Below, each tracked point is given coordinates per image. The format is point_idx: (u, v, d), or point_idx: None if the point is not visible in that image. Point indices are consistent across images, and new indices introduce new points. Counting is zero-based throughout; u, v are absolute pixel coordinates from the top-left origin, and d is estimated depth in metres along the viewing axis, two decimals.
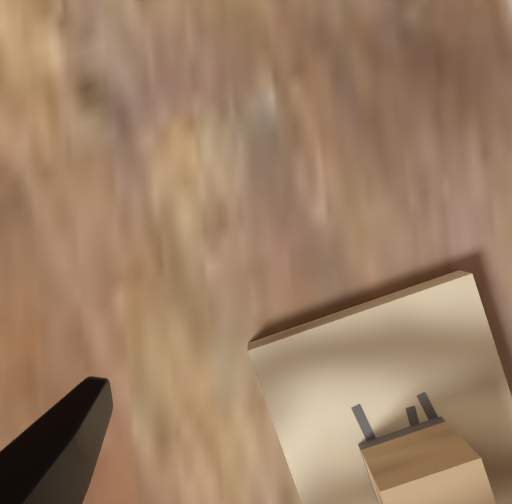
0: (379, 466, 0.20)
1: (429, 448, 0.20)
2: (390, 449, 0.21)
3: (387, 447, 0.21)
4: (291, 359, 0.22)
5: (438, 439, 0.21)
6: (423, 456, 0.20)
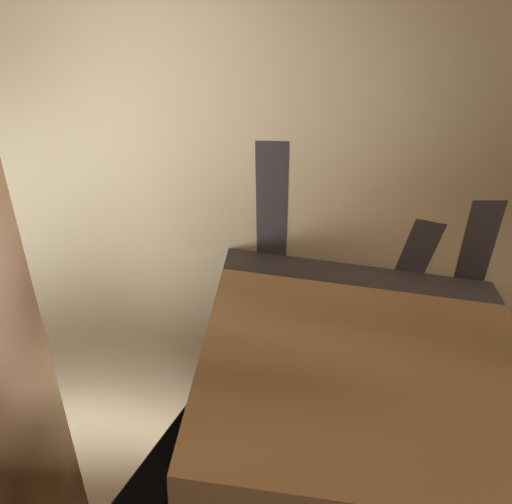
0: (238, 353, 0.06)
1: (431, 374, 0.06)
2: (305, 310, 0.06)
3: (300, 299, 0.07)
4: None
5: (470, 353, 0.06)
6: (402, 397, 0.05)
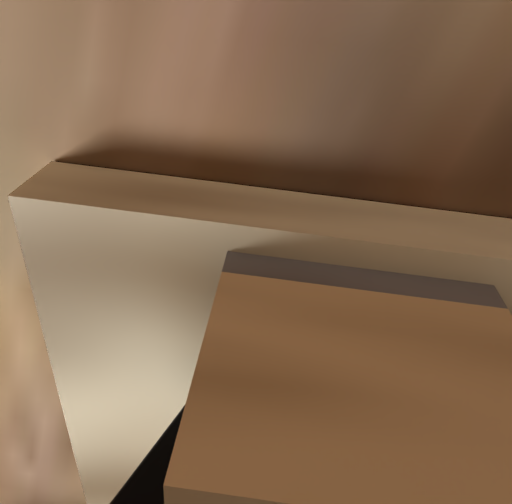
0: (237, 358, 0.05)
1: (433, 379, 0.05)
2: (305, 314, 0.06)
3: (300, 302, 0.06)
4: (129, 267, 0.08)
5: (471, 357, 0.06)
6: (404, 403, 0.05)
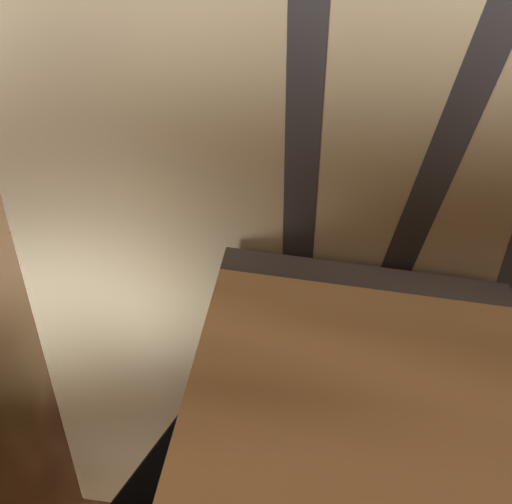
0: (235, 361, 0.05)
1: (446, 386, 0.05)
2: (308, 314, 0.06)
3: (303, 302, 0.06)
4: None
5: (487, 362, 0.05)
6: (414, 410, 0.05)
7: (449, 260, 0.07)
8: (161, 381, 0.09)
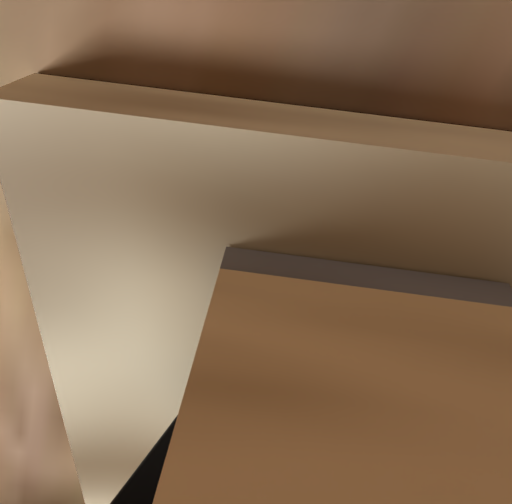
0: (235, 361, 0.05)
1: (446, 385, 0.05)
2: (308, 314, 0.06)
3: (303, 302, 0.06)
4: (123, 189, 0.07)
5: (487, 361, 0.05)
6: (415, 411, 0.05)
7: None
8: None
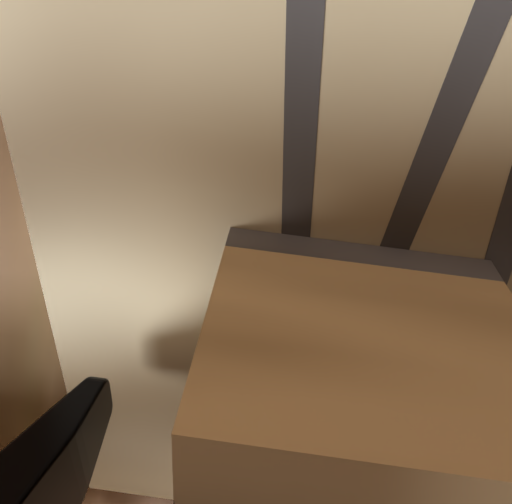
0: (241, 323, 0.06)
1: (431, 344, 0.06)
2: (306, 284, 0.06)
3: (301, 274, 0.07)
4: None
5: (468, 325, 0.06)
6: (402, 364, 0.05)
7: None
8: (166, 375, 0.10)
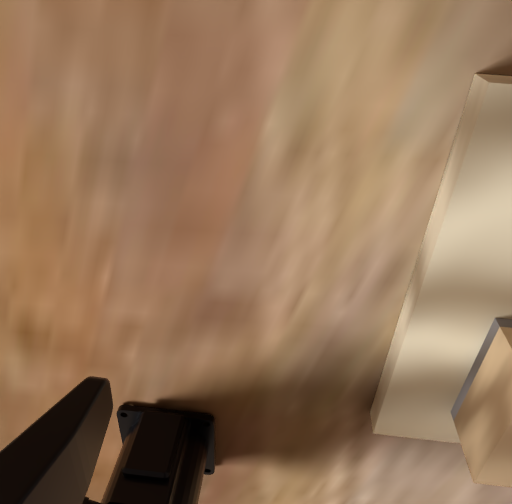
0: None
1: None
2: None
3: None
4: None
5: None
6: None
7: None
8: (442, 374, 0.23)
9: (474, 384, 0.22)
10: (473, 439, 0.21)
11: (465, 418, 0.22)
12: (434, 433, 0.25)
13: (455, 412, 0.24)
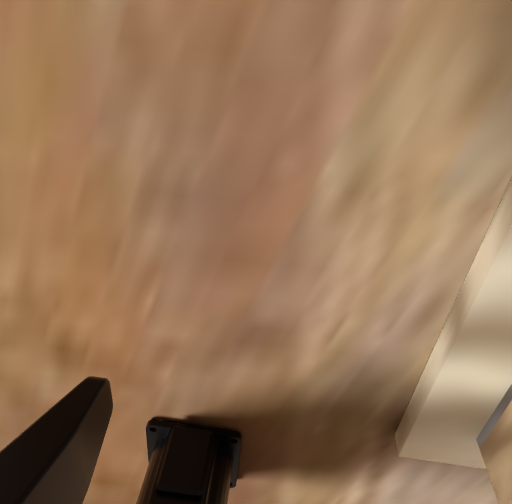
0: None
1: None
2: None
3: None
4: None
5: None
6: None
7: None
8: (473, 405, 0.24)
9: (504, 416, 0.23)
10: (502, 469, 0.22)
11: (492, 448, 0.23)
12: (458, 458, 0.26)
13: (482, 440, 0.25)
